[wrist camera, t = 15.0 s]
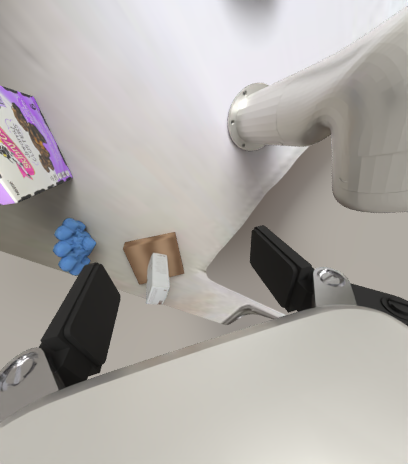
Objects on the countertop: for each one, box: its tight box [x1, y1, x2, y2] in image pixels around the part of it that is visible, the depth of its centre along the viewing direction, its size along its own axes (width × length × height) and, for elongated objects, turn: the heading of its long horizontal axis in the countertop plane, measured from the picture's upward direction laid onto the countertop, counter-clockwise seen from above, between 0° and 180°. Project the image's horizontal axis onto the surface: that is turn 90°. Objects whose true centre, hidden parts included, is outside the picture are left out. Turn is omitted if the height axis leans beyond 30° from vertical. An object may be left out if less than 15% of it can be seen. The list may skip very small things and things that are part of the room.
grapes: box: [53, 218, 96, 276], centre depth 36 cm, size 12×7×12 cm, turn 2°
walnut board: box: [123, 232, 184, 285], centre depth 48 cm, size 14×14×3 cm
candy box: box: [0, 86, 73, 205], centre depth 23 cm, size 14×6×16 cm, turn 4°
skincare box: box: [146, 253, 170, 304], centre depth 42 cm, size 6×4×12 cm
